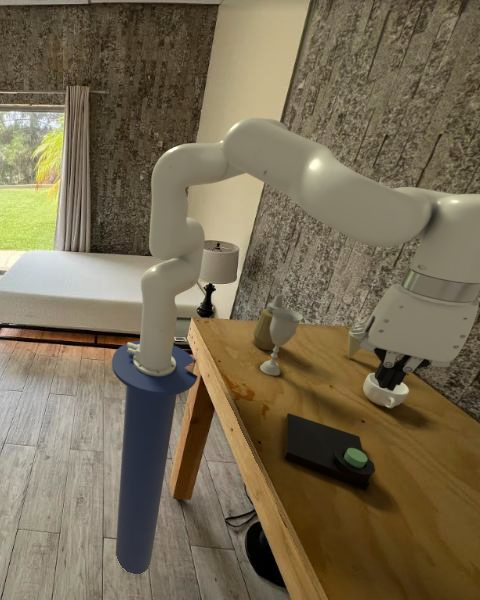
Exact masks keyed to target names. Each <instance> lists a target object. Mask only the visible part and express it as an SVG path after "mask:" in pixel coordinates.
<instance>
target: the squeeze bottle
mask: <svg viewBox="0 0 480 600" xmlns="http://www.w3.org/2000/svg"><path fill="white" fill-rule="evenodd" d="M277 308H285V309H286V306H285V304H283V294H282V293H277V295H276V296H275V298H274V299H273V301H272V302H268V303H267V306H266V308H264V309H263V310H262V311H261V313H260V316H259V318H258V320H257V323H256V325H255V327H254V331H253V338H254V344H255V346H256V347H258V348H259V349H261V350H264V351H273V349H274V348H275V344H274V343H273V341H272V338H271V334H270V325H271V322H272V318H273V313H272V311H273V310H274V309H277Z"/></svg>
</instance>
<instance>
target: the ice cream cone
mask: <svg viewBox="0 0 480 600" xmlns="http://www.w3.org/2000/svg"><path fill="white" fill-rule="evenodd" d="M369 318H370V314H367V315H366V316H365V317H364V318H363V319H361V320H359V321H358V323H357V324H354V326H351V327H350V328H351V329H350V330H349V331H348V332H347V334H348V339H347V341H348V343H347V359H351V358H352V357H353V356H354V355H355V354H357V352H358V351H360V349H362V348H361V347H360V345H359V340H360V339H361V338H362V337H363V336H364V335H365V334H366V333H364V328H365V325H366V323H367V321H368V319H369Z"/></svg>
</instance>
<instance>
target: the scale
mask: <svg viewBox="0 0 480 600" xmlns="http://www.w3.org/2000/svg"><path fill="white" fill-rule="evenodd" d="M349 448H354V449H357V450H359V451H361V452H363V453H364V451H363V446H362V442H361V437H360V435H356V434H353V433H351V432H347V431H344V430H341V429H338V428H336V427H332V426H328V425H325V424H322V423H320V422H317V421H314V420H312V419H311V420H310V419H307V418H304V417H302V416H299V415H296V414H292V413H289V412H287V414H286V416H285V420H284V449H283V450H284V453H283V455H284V457H283V459H284V460H286V461H288V462H291V463H293V464H295V465H299V466H301V467H303V468H306V469H309V470H310V471H314V472H317V473H319V474H322V475H324V476H327V477H329V478H332V479H334V480H337V481H339V482H342V483H344V484H347V485H350V486H352V487H354V488H357V489H360V490H363V491H367V490H368V488H369V486H370V484H371V481H370V479H372V477H373V476H374V474H375V472H376V467H375V464H374V462H373V461H372V460H371V459H370V458H369V457H368V456H367V455H366V457H367V462H366V464H365V465H364V467H363V468H357V467H354V466H352V465H351V464H349V463H348V462H346V460H345V459H344V455H345V453H346V451H347V449H349Z"/></svg>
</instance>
